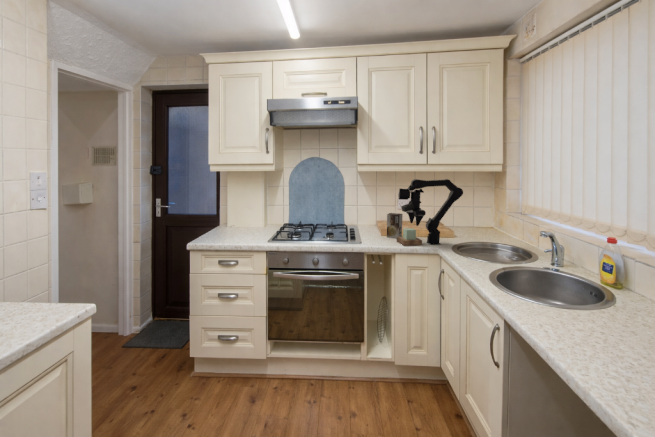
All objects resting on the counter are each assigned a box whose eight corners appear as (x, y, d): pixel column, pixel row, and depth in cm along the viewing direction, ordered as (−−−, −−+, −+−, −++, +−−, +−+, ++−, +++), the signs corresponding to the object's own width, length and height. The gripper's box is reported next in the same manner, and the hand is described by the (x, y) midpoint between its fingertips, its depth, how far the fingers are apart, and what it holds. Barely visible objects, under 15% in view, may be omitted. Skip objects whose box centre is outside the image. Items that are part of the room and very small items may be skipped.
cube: (411, 237, 228) (412, 228, 227) (415, 239, 222) (416, 230, 221) (402, 237, 227) (403, 228, 226) (406, 239, 221) (406, 230, 220)
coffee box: (402, 237, 243) (403, 213, 241) (398, 238, 238) (399, 214, 235) (389, 235, 248) (390, 212, 245) (386, 237, 243) (386, 213, 240)
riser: (414, 240, 232) (414, 236, 231) (421, 245, 220) (422, 240, 220) (396, 241, 230) (396, 236, 229) (403, 245, 218) (403, 241, 218)
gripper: (397, 198, 229) (396, 222, 231) (408, 201, 211) (407, 227, 213) (414, 198, 231) (413, 221, 233) (426, 201, 212) (425, 227, 215)
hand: (414, 224), depth 224 cm, fingers open, 9 cm apart
